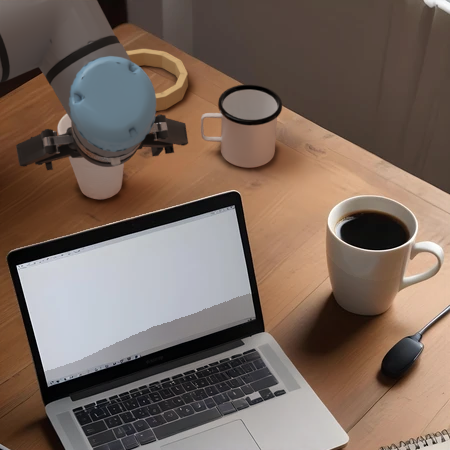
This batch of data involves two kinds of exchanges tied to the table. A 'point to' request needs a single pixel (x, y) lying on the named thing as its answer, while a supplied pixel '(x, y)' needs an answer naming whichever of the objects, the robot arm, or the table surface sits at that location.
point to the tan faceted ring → (167, 63)
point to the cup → (93, 172)
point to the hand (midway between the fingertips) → (101, 152)
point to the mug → (247, 124)
